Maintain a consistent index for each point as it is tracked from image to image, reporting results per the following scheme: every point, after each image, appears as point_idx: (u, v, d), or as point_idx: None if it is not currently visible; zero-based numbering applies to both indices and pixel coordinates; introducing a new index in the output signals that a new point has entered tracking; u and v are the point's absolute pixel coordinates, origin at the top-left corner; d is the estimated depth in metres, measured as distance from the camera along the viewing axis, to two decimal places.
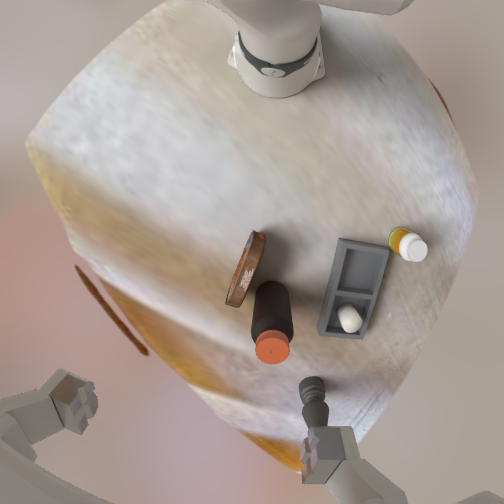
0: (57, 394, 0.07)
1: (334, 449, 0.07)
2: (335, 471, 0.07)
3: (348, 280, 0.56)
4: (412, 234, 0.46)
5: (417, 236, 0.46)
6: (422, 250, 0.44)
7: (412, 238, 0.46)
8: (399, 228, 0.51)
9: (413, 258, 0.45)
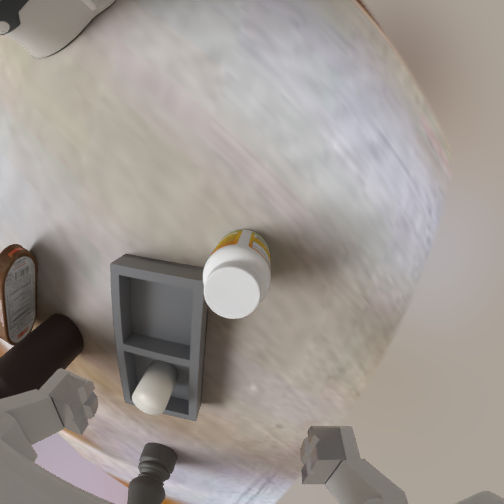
0: (57, 393, 0.07)
1: (334, 449, 0.07)
2: (335, 471, 0.07)
3: (153, 327, 0.31)
4: (229, 249, 0.21)
5: (244, 255, 0.21)
6: (244, 292, 0.19)
7: (226, 259, 0.21)
8: (234, 233, 0.26)
9: (218, 310, 0.20)
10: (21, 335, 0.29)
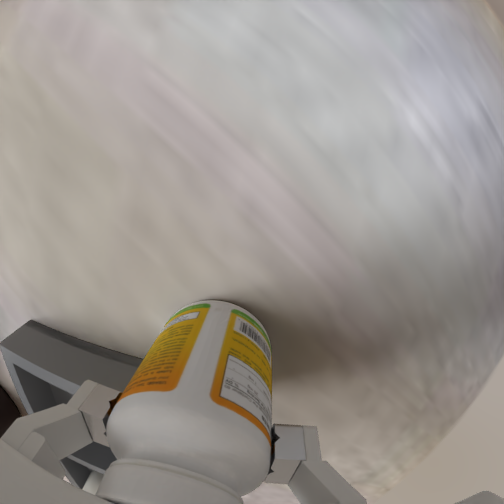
0: (88, 407, 0.07)
1: (294, 448, 0.07)
2: (296, 471, 0.07)
3: None
4: (152, 413, 0.06)
5: (192, 436, 0.06)
6: None
7: (146, 439, 0.06)
8: (189, 316, 0.11)
9: None
10: None
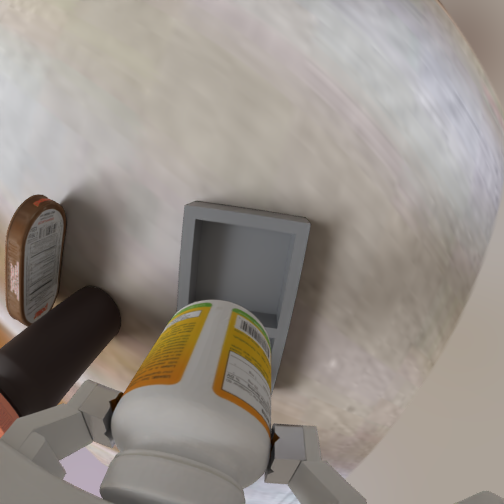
0: (88, 407, 0.07)
1: (294, 448, 0.07)
2: (296, 471, 0.07)
3: (225, 293, 0.27)
4: (157, 405, 0.06)
5: (195, 427, 0.06)
6: None
7: (151, 431, 0.06)
8: (191, 315, 0.12)
9: None
10: (39, 314, 0.25)
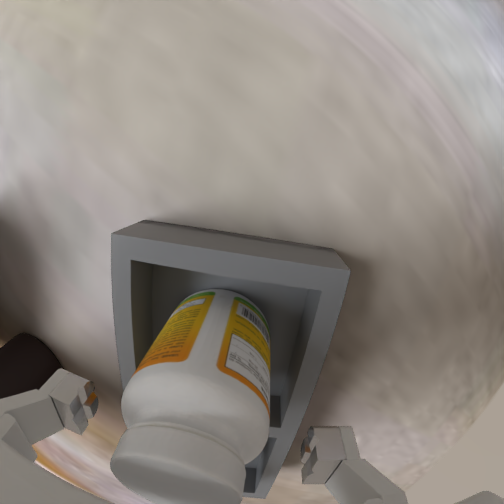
0: (57, 393, 0.07)
1: (334, 449, 0.07)
2: (335, 471, 0.07)
3: None
4: (167, 380, 0.08)
5: (201, 399, 0.07)
6: (201, 494, 0.06)
7: (160, 404, 0.07)
8: (196, 302, 0.13)
9: (152, 499, 0.06)
10: None
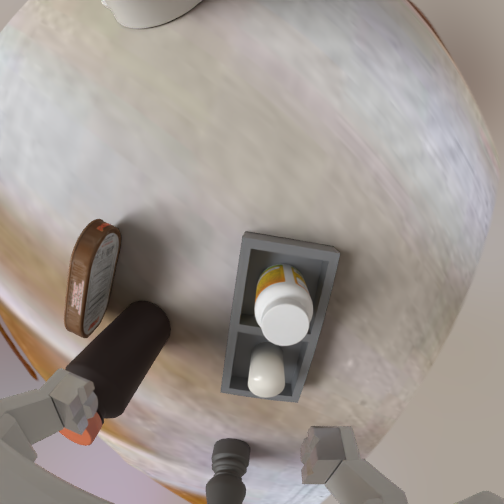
0: (57, 394, 0.07)
1: (334, 449, 0.07)
2: (335, 471, 0.07)
3: None
4: (281, 286, 0.25)
5: (293, 291, 0.24)
6: (296, 324, 0.23)
7: (278, 295, 0.24)
8: (276, 268, 0.30)
9: (272, 339, 0.23)
10: (92, 326, 0.31)
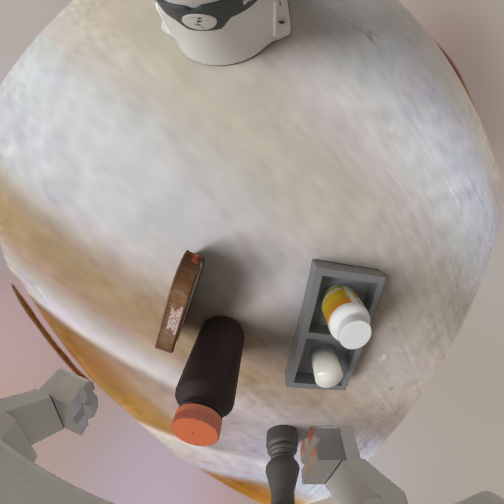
0: (57, 394, 0.07)
1: (334, 449, 0.07)
2: (334, 471, 0.07)
3: None
4: (350, 306, 0.32)
5: (359, 310, 0.32)
6: (363, 334, 0.30)
7: (349, 313, 0.32)
8: (338, 289, 0.37)
9: (346, 345, 0.31)
10: None
